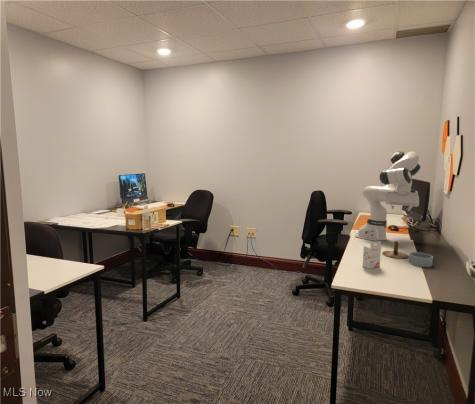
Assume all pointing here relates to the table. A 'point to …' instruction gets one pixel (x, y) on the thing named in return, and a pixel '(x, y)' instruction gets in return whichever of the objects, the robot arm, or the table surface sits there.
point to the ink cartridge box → (372, 255)
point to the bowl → (420, 259)
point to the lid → (395, 253)
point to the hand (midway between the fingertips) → (400, 209)
